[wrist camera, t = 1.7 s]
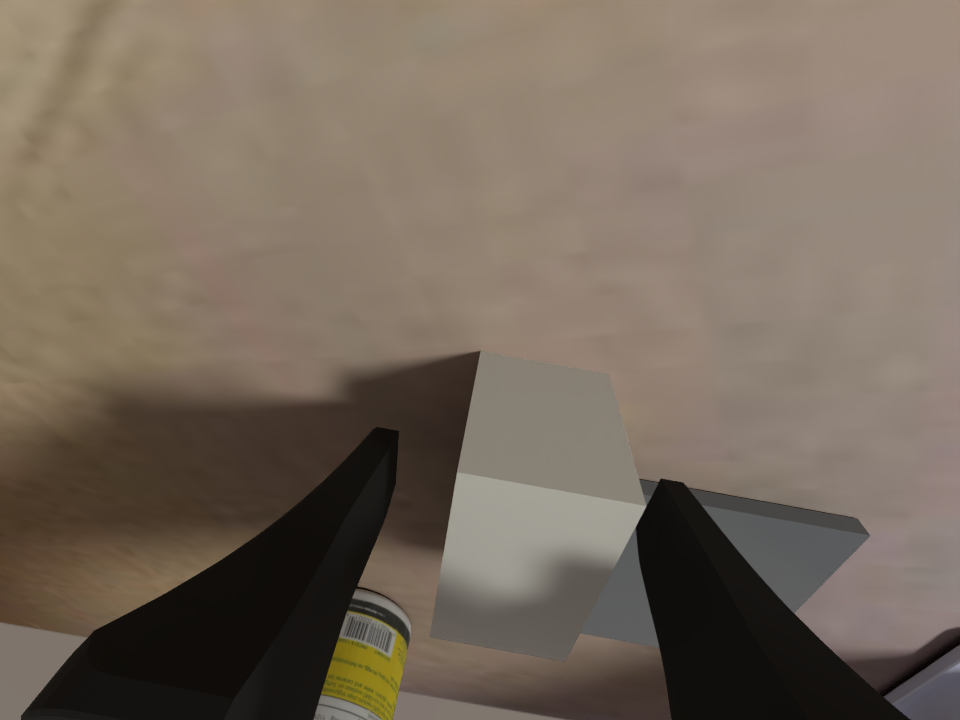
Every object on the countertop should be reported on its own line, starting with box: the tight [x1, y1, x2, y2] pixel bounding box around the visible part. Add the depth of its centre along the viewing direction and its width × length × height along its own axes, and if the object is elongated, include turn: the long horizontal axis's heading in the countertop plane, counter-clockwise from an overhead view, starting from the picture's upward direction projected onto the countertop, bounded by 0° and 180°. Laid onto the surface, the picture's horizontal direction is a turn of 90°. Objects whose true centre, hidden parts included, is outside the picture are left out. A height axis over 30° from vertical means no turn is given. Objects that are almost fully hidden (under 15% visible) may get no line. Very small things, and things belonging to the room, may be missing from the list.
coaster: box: [580, 479, 870, 648], centre depth 15 cm, size 8×8×1 cm
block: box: [430, 351, 646, 662], centre depth 12 cm, size 4×8×4 cm, turn 172°
